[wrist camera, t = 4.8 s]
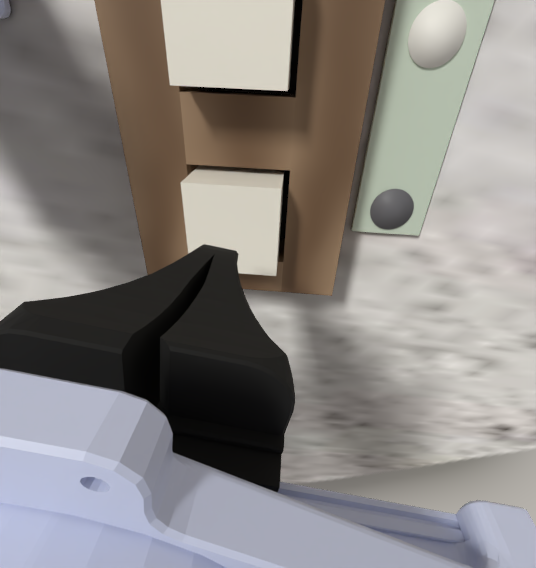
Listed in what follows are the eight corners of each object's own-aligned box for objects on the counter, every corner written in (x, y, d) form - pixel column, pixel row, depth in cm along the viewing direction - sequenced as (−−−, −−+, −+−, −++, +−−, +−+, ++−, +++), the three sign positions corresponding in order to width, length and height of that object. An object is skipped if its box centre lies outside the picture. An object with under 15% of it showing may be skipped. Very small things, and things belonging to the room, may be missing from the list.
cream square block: (205, 241, 19) (190, 269, 16) (199, 164, 17) (180, 182, 14) (279, 246, 19) (276, 276, 16) (284, 169, 17) (281, 188, 14)
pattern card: (351, 229, 20) (352, 231, 19) (468, -376, 9) (474, -393, 9) (417, 233, 20) (419, 236, 19) (611, -379, 9) (623, -396, 9)
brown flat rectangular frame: (166, 257, 22) (149, 281, 19) (35, -595, 8) (-79, -885, 6) (327, 269, 21) (331, 295, 19) (473, -618, 8) (555, -945, 5)
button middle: (193, 83, 15) (169, 85, 12) (183, -52, 12) (151, -88, 10) (289, 87, 15) (287, 90, 12) (298, -49, 12) (298, -84, 9)
